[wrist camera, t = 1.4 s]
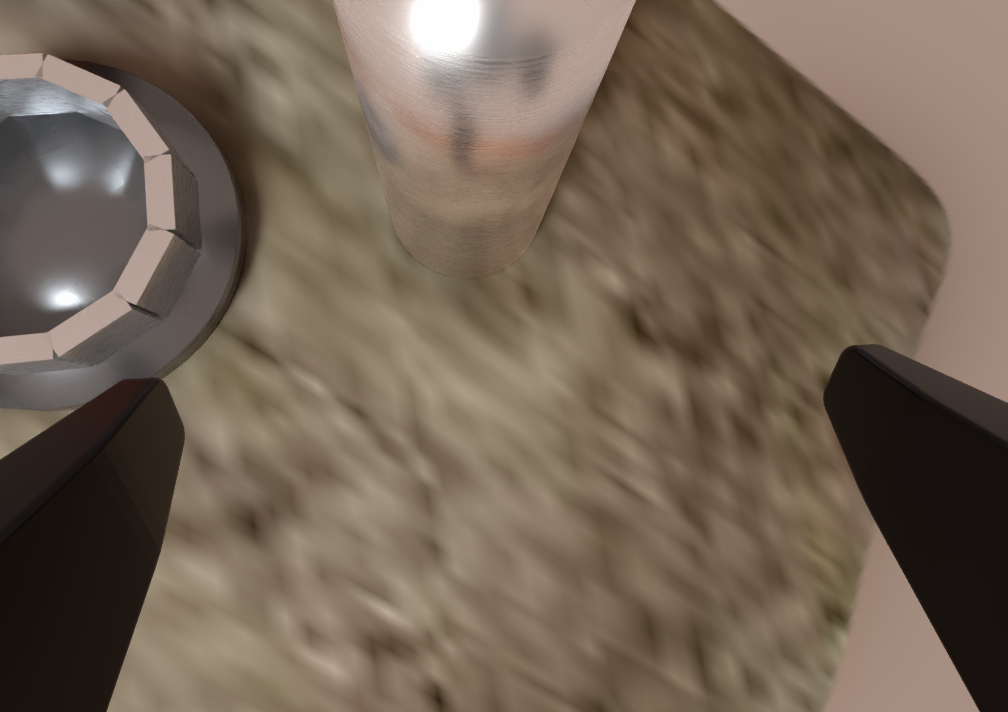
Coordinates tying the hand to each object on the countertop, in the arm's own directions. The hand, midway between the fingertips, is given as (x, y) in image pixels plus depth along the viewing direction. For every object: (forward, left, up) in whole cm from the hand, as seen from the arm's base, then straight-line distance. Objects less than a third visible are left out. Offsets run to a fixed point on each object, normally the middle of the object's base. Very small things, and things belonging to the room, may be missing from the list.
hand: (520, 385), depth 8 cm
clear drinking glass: (+7, -4, -13) cm, 16 cm away
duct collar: (+14, +8, -13) cm, 21 cm away
